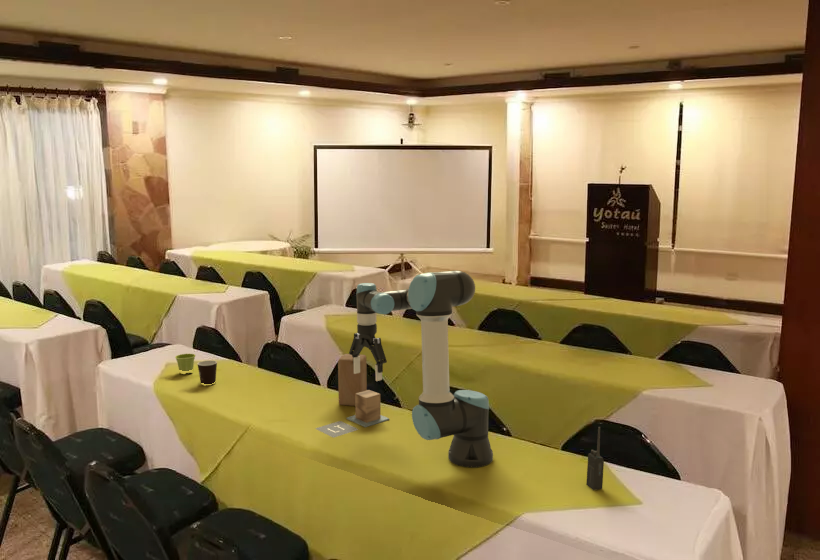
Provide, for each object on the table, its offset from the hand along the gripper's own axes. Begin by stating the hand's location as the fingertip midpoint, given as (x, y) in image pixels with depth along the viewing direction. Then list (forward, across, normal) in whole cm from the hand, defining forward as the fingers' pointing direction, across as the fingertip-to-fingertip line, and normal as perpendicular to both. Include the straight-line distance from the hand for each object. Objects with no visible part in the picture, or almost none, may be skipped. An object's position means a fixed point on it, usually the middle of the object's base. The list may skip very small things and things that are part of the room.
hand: (367, 376), depth 260 cm
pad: (+18, 0, 0) cm, 18 cm away
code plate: (+18, 0, +15) cm, 23 cm away
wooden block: (+18, +20, -8) cm, 28 cm away
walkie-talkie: (+19, -91, -16) cm, 95 cm away
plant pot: (+16, +108, +26) cm, 113 cm away
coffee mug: (+17, +86, +25) cm, 92 cm away
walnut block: (+17, 0, 0) cm, 17 cm away
